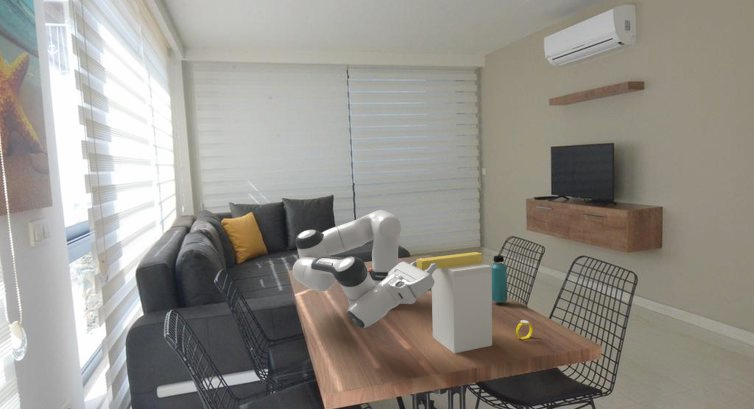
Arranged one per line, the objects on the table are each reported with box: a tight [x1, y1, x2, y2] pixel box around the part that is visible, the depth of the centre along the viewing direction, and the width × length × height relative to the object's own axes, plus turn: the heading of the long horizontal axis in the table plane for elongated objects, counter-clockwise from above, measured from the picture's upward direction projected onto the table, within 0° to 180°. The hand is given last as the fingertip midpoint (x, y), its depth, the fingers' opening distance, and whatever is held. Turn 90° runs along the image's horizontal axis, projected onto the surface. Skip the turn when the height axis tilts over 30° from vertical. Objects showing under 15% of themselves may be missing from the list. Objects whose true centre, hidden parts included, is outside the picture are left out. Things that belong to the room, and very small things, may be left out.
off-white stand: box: [431, 262, 493, 354], centre depth 147 cm, size 14×14×26 cm
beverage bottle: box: [491, 255, 508, 303], centre depth 184 cm, size 6×7×20 cm
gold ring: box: [515, 319, 534, 341], centre depth 148 cm, size 6×3×6 cm, turn 111°
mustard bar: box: [416, 251, 483, 271], centre depth 144 cm, size 22×4×3 cm, turn 111°
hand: (429, 262), depth 141 cm, fingers open, 6 cm apart
